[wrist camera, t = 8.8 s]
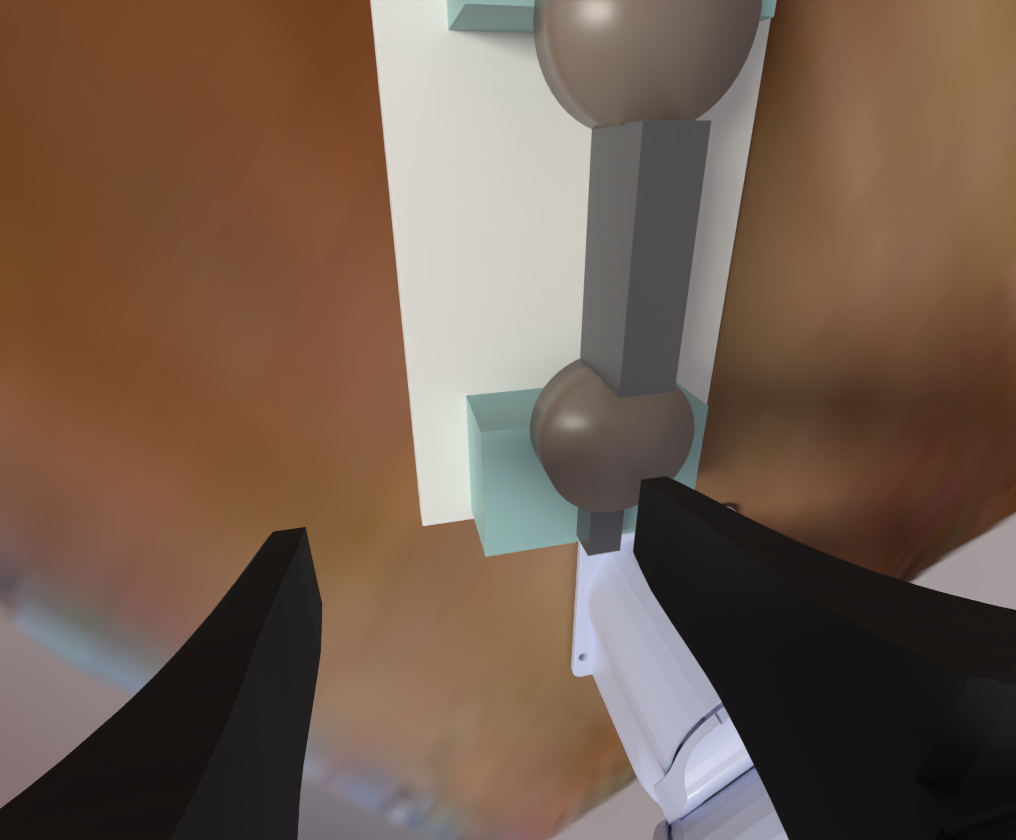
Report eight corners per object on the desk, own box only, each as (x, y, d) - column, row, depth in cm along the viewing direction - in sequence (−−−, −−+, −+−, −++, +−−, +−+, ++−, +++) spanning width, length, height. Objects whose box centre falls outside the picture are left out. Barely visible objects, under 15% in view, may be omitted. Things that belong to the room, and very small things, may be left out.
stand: (682, 474, 25) (732, 526, 22) (420, 511, 23) (430, 576, 19) (783, -187, 15) (904, -287, 12) (346, -243, 13) (338, -388, 10)
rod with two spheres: (651, 522, 21) (693, 576, 18) (528, 542, 20) (553, 602, 17) (750, -232, 12) (859, -342, 9) (535, -263, 11) (589, -396, 8)
